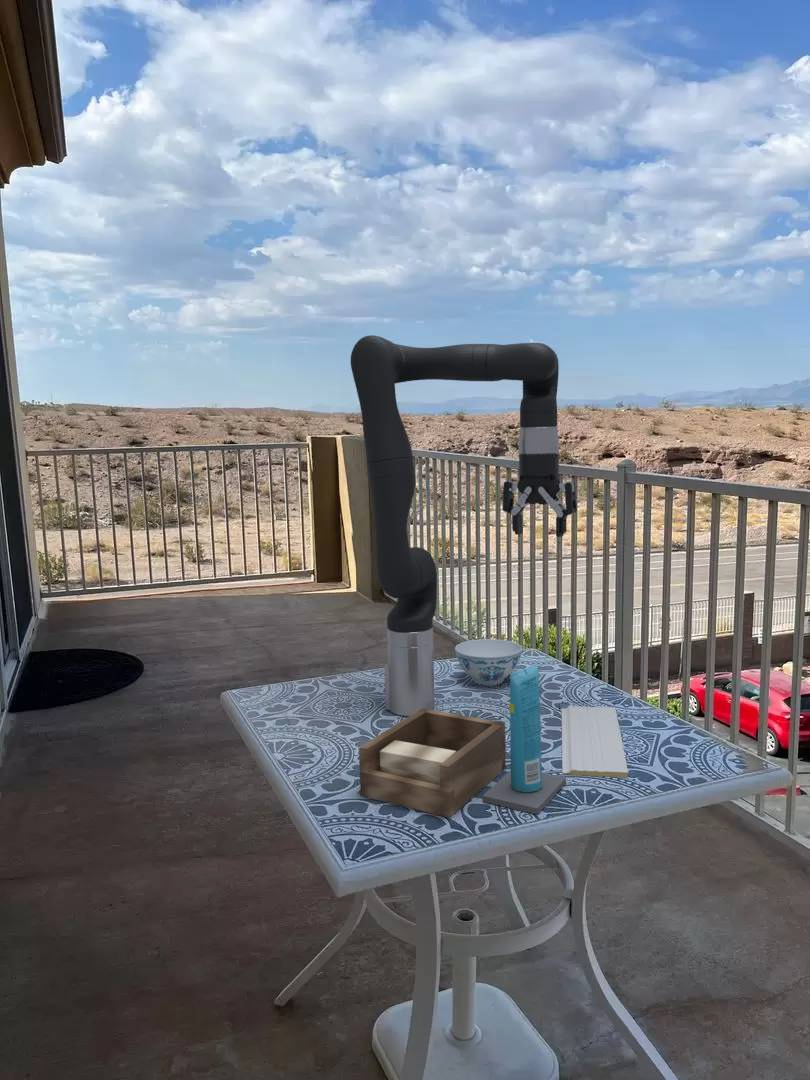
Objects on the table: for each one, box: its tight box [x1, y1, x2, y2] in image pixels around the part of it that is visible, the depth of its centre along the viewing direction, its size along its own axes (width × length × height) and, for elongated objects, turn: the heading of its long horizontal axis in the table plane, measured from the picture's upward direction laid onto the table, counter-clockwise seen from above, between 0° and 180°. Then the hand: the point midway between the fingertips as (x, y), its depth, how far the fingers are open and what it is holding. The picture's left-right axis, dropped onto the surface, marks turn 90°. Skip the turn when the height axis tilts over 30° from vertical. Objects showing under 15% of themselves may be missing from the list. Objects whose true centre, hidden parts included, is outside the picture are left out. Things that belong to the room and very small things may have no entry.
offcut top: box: [380, 740, 456, 778], centre depth 130 cm, size 11×5×2 cm, turn 62°
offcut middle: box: [381, 766, 440, 785], centre depth 130 cm, size 11×5×2 cm, turn 62°
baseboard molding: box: [555, 699, 629, 779], centre depth 150 cm, size 31×3×12 cm
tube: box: [509, 662, 543, 792], centre depth 128 cm, size 7×5×19 cm, turn 144°
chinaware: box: [454, 638, 523, 686], centre depth 186 cm, size 15×15×8 cm
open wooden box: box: [358, 708, 507, 819], centre depth 134 cm, size 16×20×8 cm
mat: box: [482, 769, 567, 816], centre depth 130 cm, size 9×12×1 cm
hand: (539, 535), depth 159 cm, fingers open, 8 cm apart
